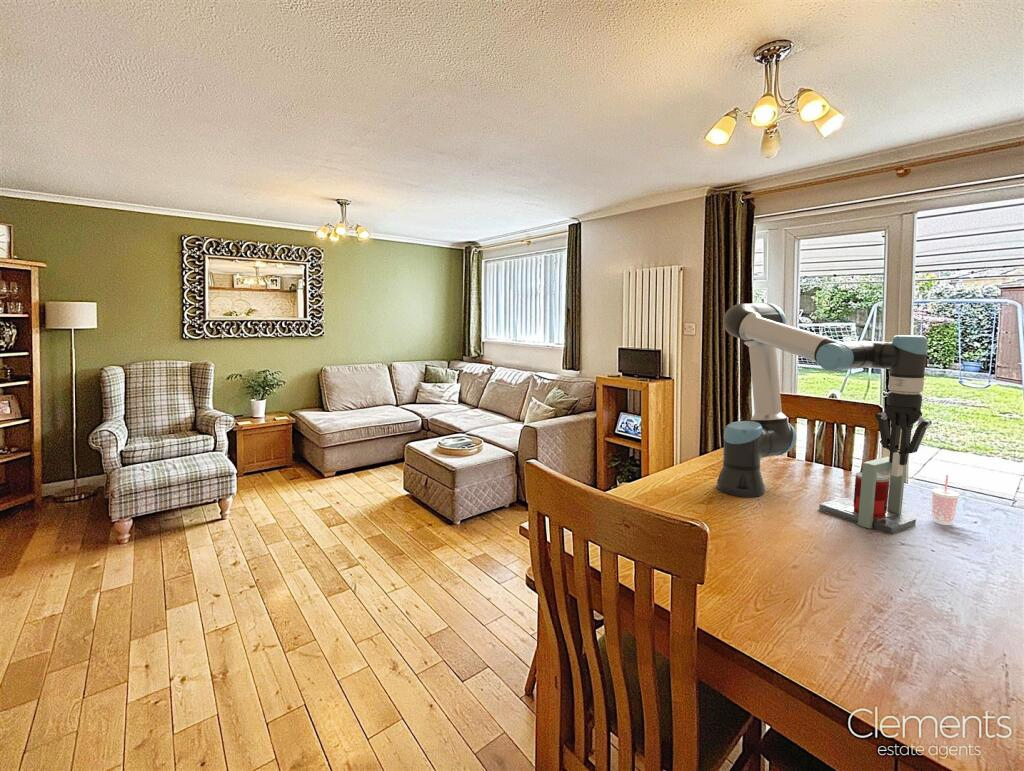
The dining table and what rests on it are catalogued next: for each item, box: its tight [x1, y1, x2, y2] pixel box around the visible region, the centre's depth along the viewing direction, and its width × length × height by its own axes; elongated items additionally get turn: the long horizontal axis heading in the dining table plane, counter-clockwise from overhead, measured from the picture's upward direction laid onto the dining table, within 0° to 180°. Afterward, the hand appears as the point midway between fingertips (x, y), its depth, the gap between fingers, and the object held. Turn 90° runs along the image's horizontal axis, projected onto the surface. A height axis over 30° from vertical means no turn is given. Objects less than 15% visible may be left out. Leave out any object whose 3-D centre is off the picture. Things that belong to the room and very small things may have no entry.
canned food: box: [853, 471, 890, 516], centre depth 146 cm, size 8×8×11 cm
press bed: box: [818, 496, 917, 535], centre depth 148 cm, size 20×12×2 cm, turn 26°
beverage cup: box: [931, 474, 960, 526], centre depth 143 cm, size 6×6×14 cm
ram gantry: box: [857, 455, 907, 529], centre depth 143 cm, size 3×16×18 cm, turn 116°
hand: (896, 475), depth 140 cm, fingers closed
